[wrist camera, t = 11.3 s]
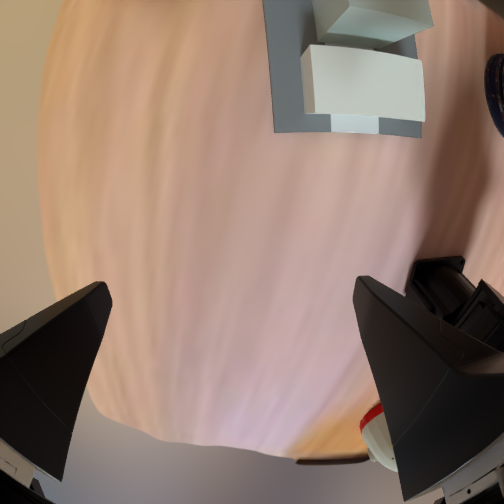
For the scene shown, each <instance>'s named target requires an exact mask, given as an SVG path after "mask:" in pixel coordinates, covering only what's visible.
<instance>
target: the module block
mask: <svg viewBox="0 0 504 504" xmlns="http://www.w3.org/2000/svg"><path fill="white" fill-rule="evenodd" d="M312 5H313V11H314V18H315V25H316V33H317V41H318V42H324V43H338V44H348V45H357V46H365V47H372V48H378V49H381V48H383V47H385V46H387V45H389V44H391V43H394V42H396V41H398V40H401V39H403V38H405V37H408V36H410V35H413V34H415V33H418V32H420V31H423V30H425V29H428V28H431V27H433V26H434V24H433V20H432V15H431V11H430V7H429V3H428V0H312Z"/></svg>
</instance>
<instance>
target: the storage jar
mask: <svg viewBox="0 0 504 504" xmlns="http://www.w3.org/2000/svg"><path fill="white" fill-rule="evenodd" d="M484 80H485V93H486V99H487V104H488V107H489V111H490V114H491V117H492V119H493V121H494V124H495V126H496V127H497V129H498V131H499V132H500V134H501V135H502V136H503V137H504V54H495V55H493V56H492V57H491V58H490V59H489V61H488V63H487V65H486V69H485V79H484Z"/></svg>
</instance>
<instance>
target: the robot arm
mask: <svg viewBox="0 0 504 504" xmlns="http://www.w3.org/2000/svg"><path fill="white" fill-rule="evenodd" d="M464 264H465V258H464V257H462V256H456V257H446V258H436V259H426V260H418V261H416V262H415V263H414V266H413V271H412V275H411V280H410V283H409V286H408V290H407V294H406V297H404V296H403V295H401V294H399V293H398V292H396V291H394V290H392V289H391V288H389V287H387V286H386V285H384V284H382V283H380V282H379V281H377V280H375V279H373V278H372V277H370V276H358V277H357V278H356V282H355V288H354V293H353V304H354V309H355V313H356V317H357V322H358V327H359V331H360V336H361V339H362V343H363V346H364V349H365V352H366V355H367V358H368V361H369V364H370V367H371V371H372V374H373V377H374V380H375V384H376V387H377V390H378V394H379V397H380V401H381V404H382V408H383V411H384V415H385V419H386V422H387V426H388V430H389V434H390V438H391V442H392V445H393V451H394V456H395V460H396V465H397V469H398V474H399V479H400V484H401V489H402V494H403V499H404V501H405V502H406V501H409V500H411V499H414V498H417V497H420V496H422V495H425V494H427V493H429V492H432V491H434V490H436V489H439V488H441V487H442V489H443V493H444V497H442V498H440V499H438V500H436V501H435V502H434V504H504V297H503V296H502V295H501V294H500V293H499V292H498V291H496V290H495V289H494V288H493V287H491V286H490V285H489V284H488V283H486V282H485V281H484V280H483V279H481V280H480V282H479V283H478V286H477V288H476V287H475V286H474V285H473V284H472V283H471V282H470V281H469V280H468V279H467V278H466V277H465V276H464V275H463V274H462V271H463V268H464ZM419 265H420V266H419ZM418 266H419V267H418ZM111 308H112V298H111V295H110V292H109V289H108V287H107V284H106V283H105V282H103V281H96V282H93V283H92V284H90V285H88V286H86V287H84V288H82V289H80V290H78V291H77V292H75V293H73V294H71V295H69V296H67V297H65V298H64V299H62V300H60V301H58V302H56V303H55V304H53V305H51V306H49V307H48V308H46V309H44V310H42V311H40V312H39V313H37V314H35V315H34V316H31V317H30V318H28V319H27V320H24V321H23V322H21V323H19V324H18V325H16V326H14V327H12V328H11V329H9V330H7V331H5V332H3V333H1V334H0V504H55V503H53V502H52V501H50V500H48V499H47V498H45V496H44V493H43V491H42V489H41V486H40V484H39V481H38V480H37V479H35V478H33V476H34V473H35V471H36V470H38V471H40V472H42V473H44V474H45V475H47V476H49V477H51V478H53V479H55V480H58V481H59V482H62V479H63V473H64V468H65V463H66V459H67V454H68V449H69V445H70V441H71V437H72V432H73V429H74V425H75V421H76V417H77V414H78V410H79V407H80V403H81V400H82V397H83V393H84V390H85V387H86V384H87V381H88V378H89V375H90V372H91V369H92V367H93V364H94V361H95V358H96V355H97V353H98V350H99V347H100V345H101V342H102V339H103V336H104V333H105V329H106V325H107V322H108V318H109V315H110V312H111Z"/></svg>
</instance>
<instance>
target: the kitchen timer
mask: <svg viewBox="0 0 504 504" xmlns="http://www.w3.org/2000/svg"><path fill="white" fill-rule="evenodd" d="M360 430H361V434H362V437H363V439H364V441H365V443H366V445H367V446H368V449H367V451H368V454H369V457H370V459H371V460H372V461H373V462H375V461H376V460H378V461H379V462H380V463H381V464H383V465H384V466H385V467H387V468H389V469H391V470H393V471H396V472H398V469H397V465H396V460H395V456H394V451H393V445H392V442H391V438H390V434H389V430H388V426H387V422H386V419H385V415H384V411H383V408H382V404H379V405H378V406H376V407H375V408H373V409H372V410H371V411H369V412H368V413H367V414H366V415H365V416H364V417H363V419H362V420H361V421H360Z"/></svg>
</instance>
